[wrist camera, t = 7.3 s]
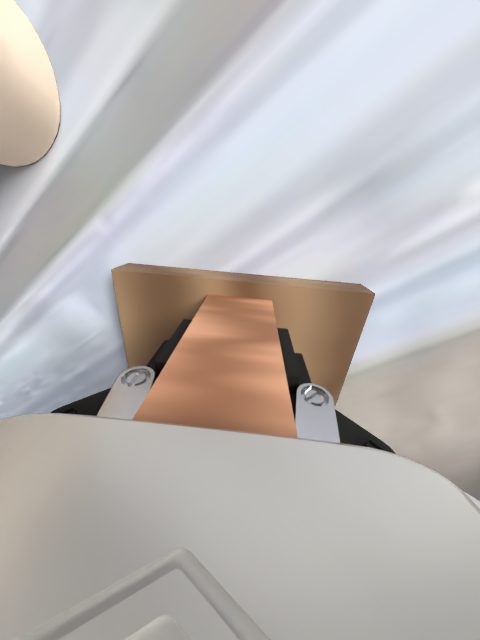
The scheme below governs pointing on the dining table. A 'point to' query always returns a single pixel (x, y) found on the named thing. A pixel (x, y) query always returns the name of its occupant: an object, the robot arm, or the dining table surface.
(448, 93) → the dining table surface
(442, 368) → the dining table surface
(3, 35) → the water bottle
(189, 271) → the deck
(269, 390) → the l-shaped wooden block
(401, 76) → the dining table surface
